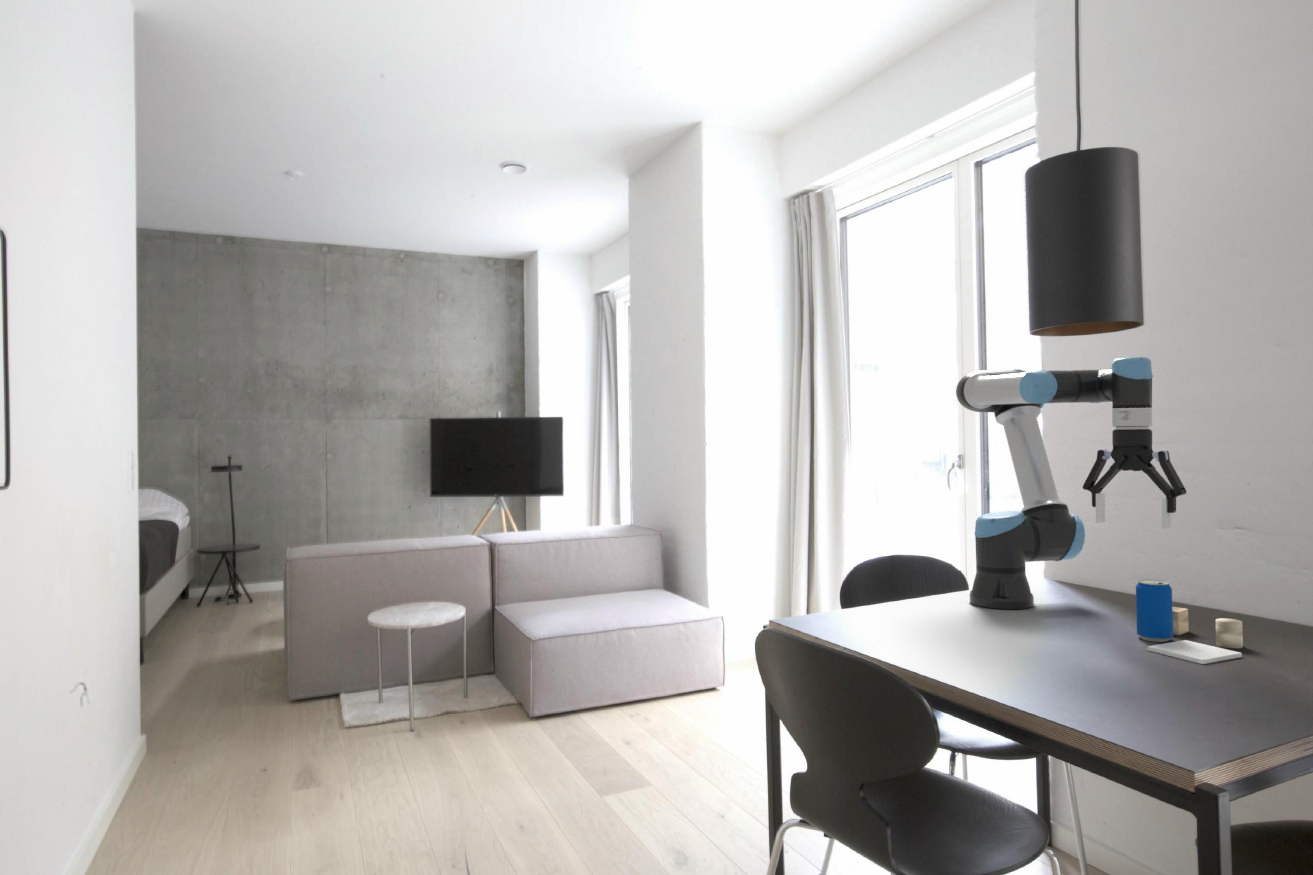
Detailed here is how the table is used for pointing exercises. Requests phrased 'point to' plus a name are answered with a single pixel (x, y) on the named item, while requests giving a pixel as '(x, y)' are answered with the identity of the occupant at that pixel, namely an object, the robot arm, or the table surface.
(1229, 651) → the pad
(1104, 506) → the robot arm
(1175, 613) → the oak cube
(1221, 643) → the birch cylinder
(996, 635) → the table surface
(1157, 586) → the beverage can
